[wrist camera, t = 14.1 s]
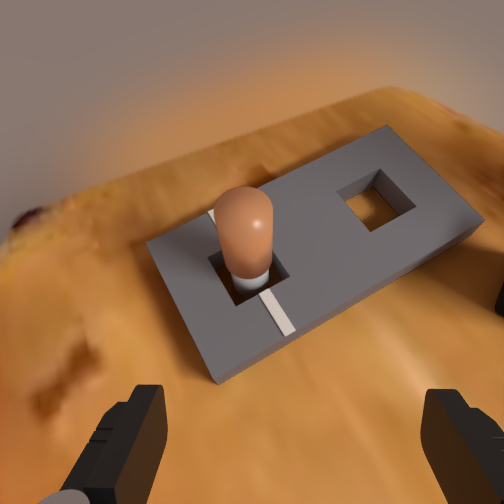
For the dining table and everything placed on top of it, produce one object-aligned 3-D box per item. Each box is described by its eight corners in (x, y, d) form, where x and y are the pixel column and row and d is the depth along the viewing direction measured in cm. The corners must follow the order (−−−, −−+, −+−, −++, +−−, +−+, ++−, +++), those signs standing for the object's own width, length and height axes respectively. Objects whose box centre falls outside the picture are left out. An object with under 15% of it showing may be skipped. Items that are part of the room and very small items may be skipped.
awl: (258, 255, 37) (254, 177, 27) (279, 287, 35) (284, 219, 25) (222, 274, 36) (203, 202, 26) (242, 308, 35) (231, 246, 24)
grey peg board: (379, 144, 43) (387, 123, 40) (470, 236, 37) (486, 218, 34) (153, 257, 38) (144, 241, 35) (218, 385, 32) (213, 379, 29)
